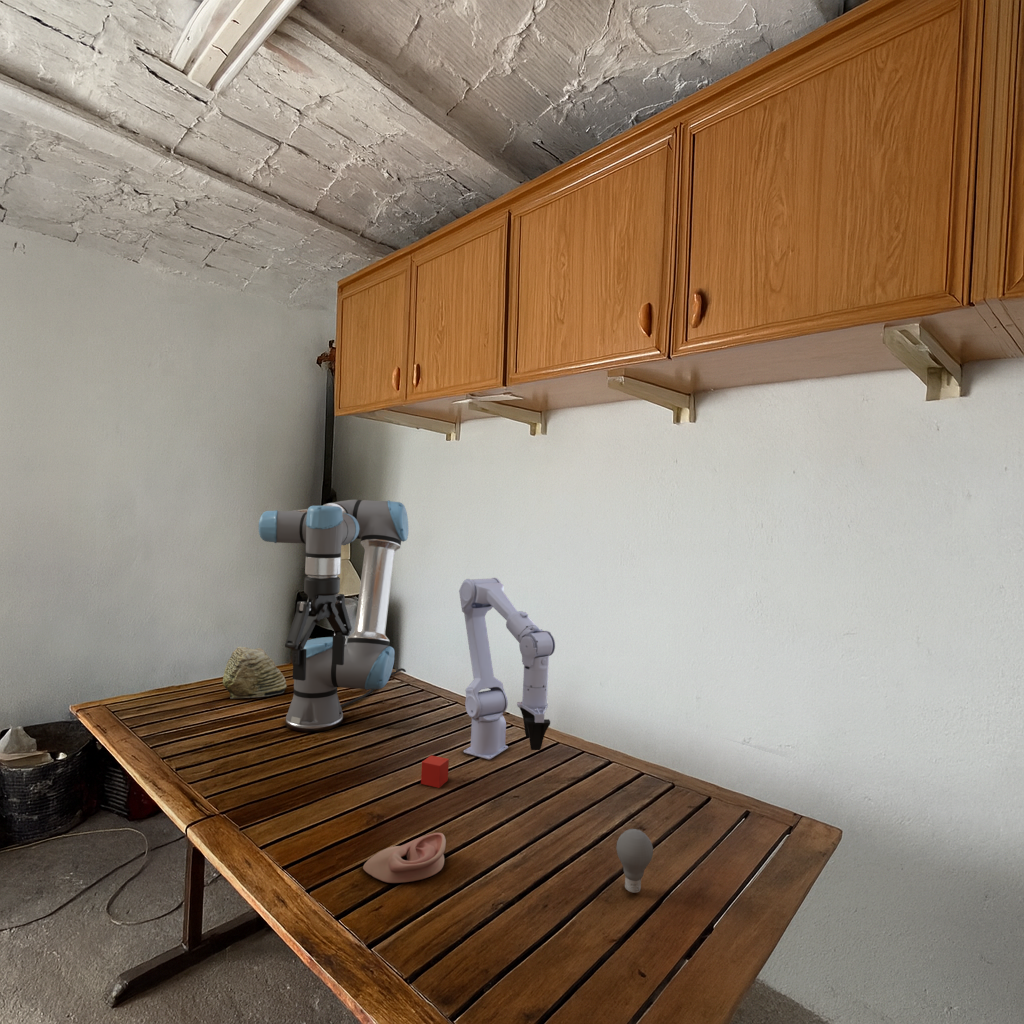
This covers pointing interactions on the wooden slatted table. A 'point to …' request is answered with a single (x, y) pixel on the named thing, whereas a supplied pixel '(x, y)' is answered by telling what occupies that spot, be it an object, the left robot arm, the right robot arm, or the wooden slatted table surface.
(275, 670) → the fossil
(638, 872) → the light bulb
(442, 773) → the block
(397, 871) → the anatomical model
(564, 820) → the wooden slatted table surface
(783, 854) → the wooden slatted table surface
